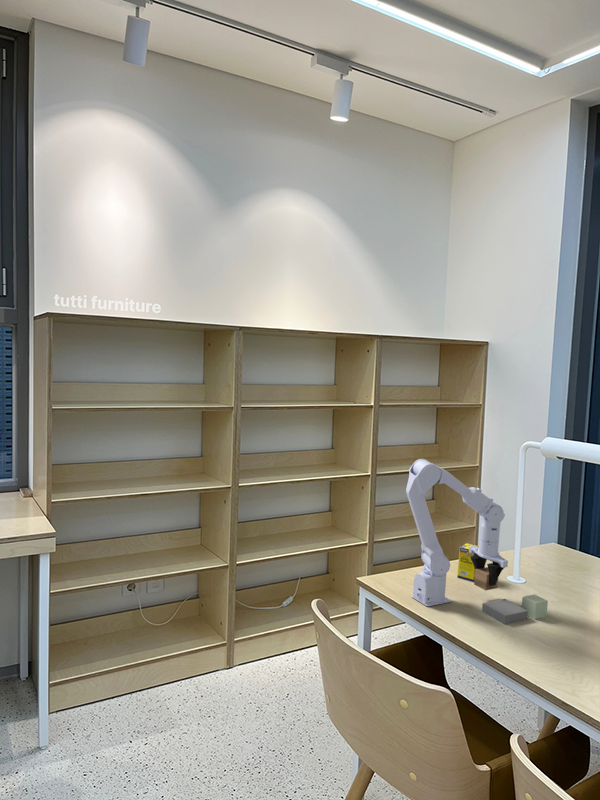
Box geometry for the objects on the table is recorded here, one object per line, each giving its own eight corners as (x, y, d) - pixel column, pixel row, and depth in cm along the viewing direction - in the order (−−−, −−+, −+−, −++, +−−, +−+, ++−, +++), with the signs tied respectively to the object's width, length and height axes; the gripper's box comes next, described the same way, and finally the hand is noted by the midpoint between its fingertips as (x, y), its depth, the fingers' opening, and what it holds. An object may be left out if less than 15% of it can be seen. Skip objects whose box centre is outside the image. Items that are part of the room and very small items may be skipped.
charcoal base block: (504, 625, 171) (505, 615, 171) (481, 612, 179) (482, 603, 179) (526, 620, 175) (527, 610, 175) (503, 608, 183) (504, 598, 183)
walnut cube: (485, 590, 184) (486, 574, 184) (474, 584, 189) (475, 569, 188) (497, 588, 187) (498, 572, 186) (485, 582, 191) (487, 567, 191)
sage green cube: (534, 619, 175) (535, 603, 175) (521, 612, 180) (522, 596, 179) (546, 616, 177) (547, 600, 177) (533, 610, 182) (534, 594, 181)
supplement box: (473, 582, 202) (476, 550, 201) (456, 577, 205) (459, 546, 204) (480, 577, 207) (482, 546, 206) (463, 572, 210) (465, 542, 209)
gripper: (516, 545, 182) (512, 588, 183) (482, 531, 195) (479, 571, 196) (499, 548, 179) (495, 591, 180) (465, 533, 192) (462, 574, 193)
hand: (486, 581), depth 188 cm, fingers closed on walnut cube, 5 cm apart
